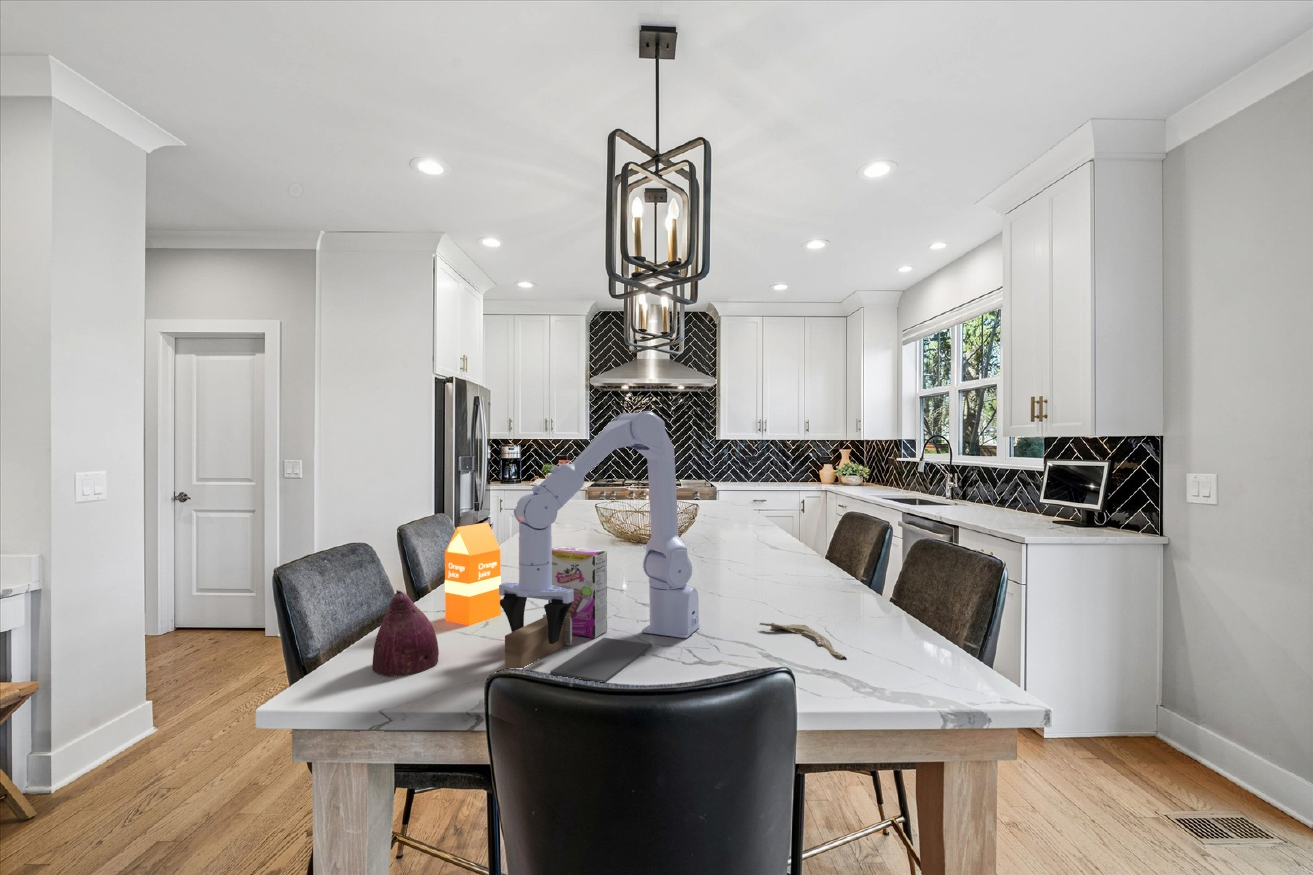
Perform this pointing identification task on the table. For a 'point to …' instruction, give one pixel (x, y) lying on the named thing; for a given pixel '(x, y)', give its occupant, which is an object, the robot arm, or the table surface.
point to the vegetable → (404, 640)
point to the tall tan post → (534, 642)
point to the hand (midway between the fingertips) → (535, 639)
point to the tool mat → (602, 659)
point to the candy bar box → (583, 587)
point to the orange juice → (472, 575)
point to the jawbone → (807, 635)
